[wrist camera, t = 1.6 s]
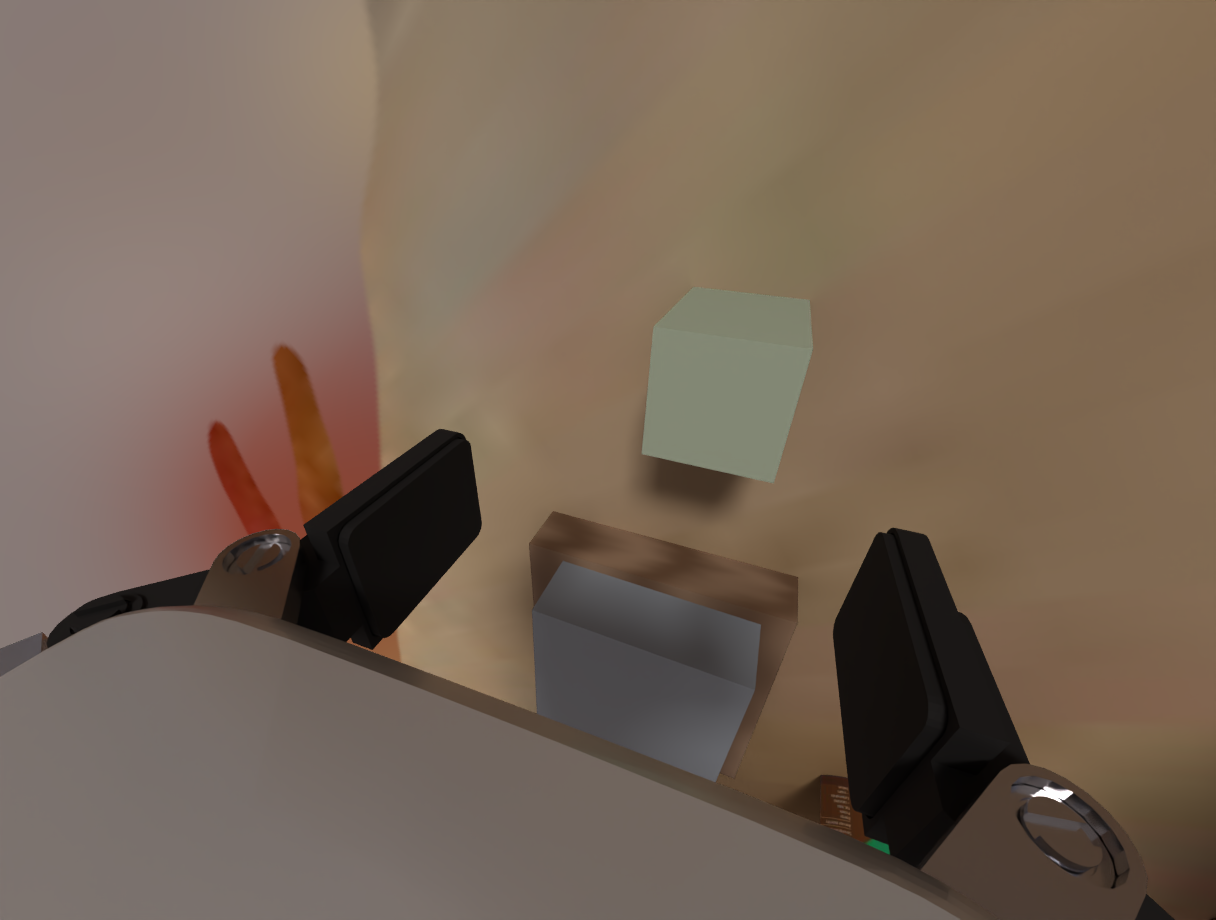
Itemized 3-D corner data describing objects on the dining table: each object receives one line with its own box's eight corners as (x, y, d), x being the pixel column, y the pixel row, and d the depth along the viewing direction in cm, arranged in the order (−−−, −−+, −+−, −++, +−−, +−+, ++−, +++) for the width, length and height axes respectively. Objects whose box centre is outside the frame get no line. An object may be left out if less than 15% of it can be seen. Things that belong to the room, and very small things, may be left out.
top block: (760, 624, 25) (754, 690, 22) (708, 760, 34) (698, 821, 30) (562, 560, 28) (532, 610, 25) (561, 700, 37) (538, 750, 33)
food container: (967, 862, 34) (1018, 1067, 26) (881, 853, 38) (903, 1033, 30) (898, 762, 32) (931, 959, 24) (811, 763, 35) (815, 935, 27)
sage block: (809, 299, 19) (812, 349, 14) (780, 406, 22) (773, 483, 16) (693, 286, 21) (653, 326, 15) (680, 388, 23) (641, 454, 18)
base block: (798, 571, 27) (797, 623, 24) (739, 726, 37) (734, 778, 34) (556, 506, 31) (528, 543, 28) (561, 661, 41) (541, 701, 38)
